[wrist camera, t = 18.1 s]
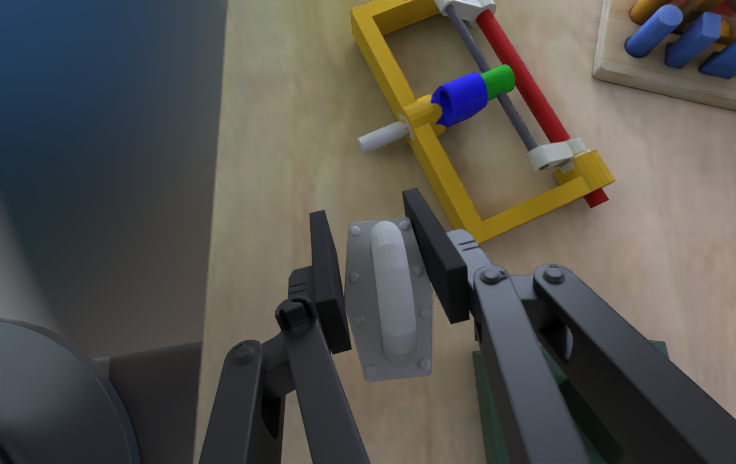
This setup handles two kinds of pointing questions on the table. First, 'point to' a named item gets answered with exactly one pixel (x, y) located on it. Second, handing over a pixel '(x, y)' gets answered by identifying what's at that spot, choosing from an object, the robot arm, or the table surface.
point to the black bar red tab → (593, 426)
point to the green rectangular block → (490, 421)
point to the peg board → (670, 48)
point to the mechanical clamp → (463, 100)
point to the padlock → (388, 300)
